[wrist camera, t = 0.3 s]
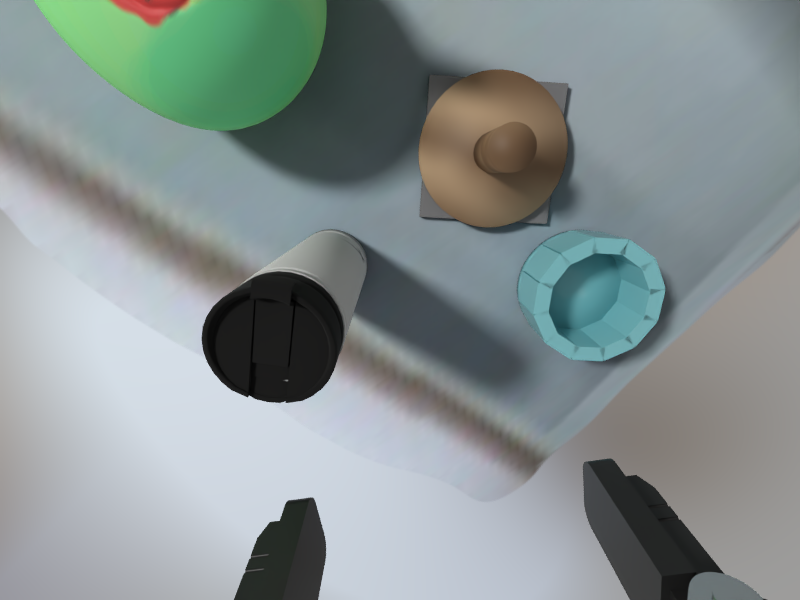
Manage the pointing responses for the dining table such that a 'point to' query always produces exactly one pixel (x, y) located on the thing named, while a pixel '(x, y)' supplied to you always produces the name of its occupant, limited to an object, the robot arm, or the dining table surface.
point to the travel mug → (287, 320)
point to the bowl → (590, 294)
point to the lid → (493, 148)
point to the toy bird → (197, 53)
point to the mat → (435, 91)
